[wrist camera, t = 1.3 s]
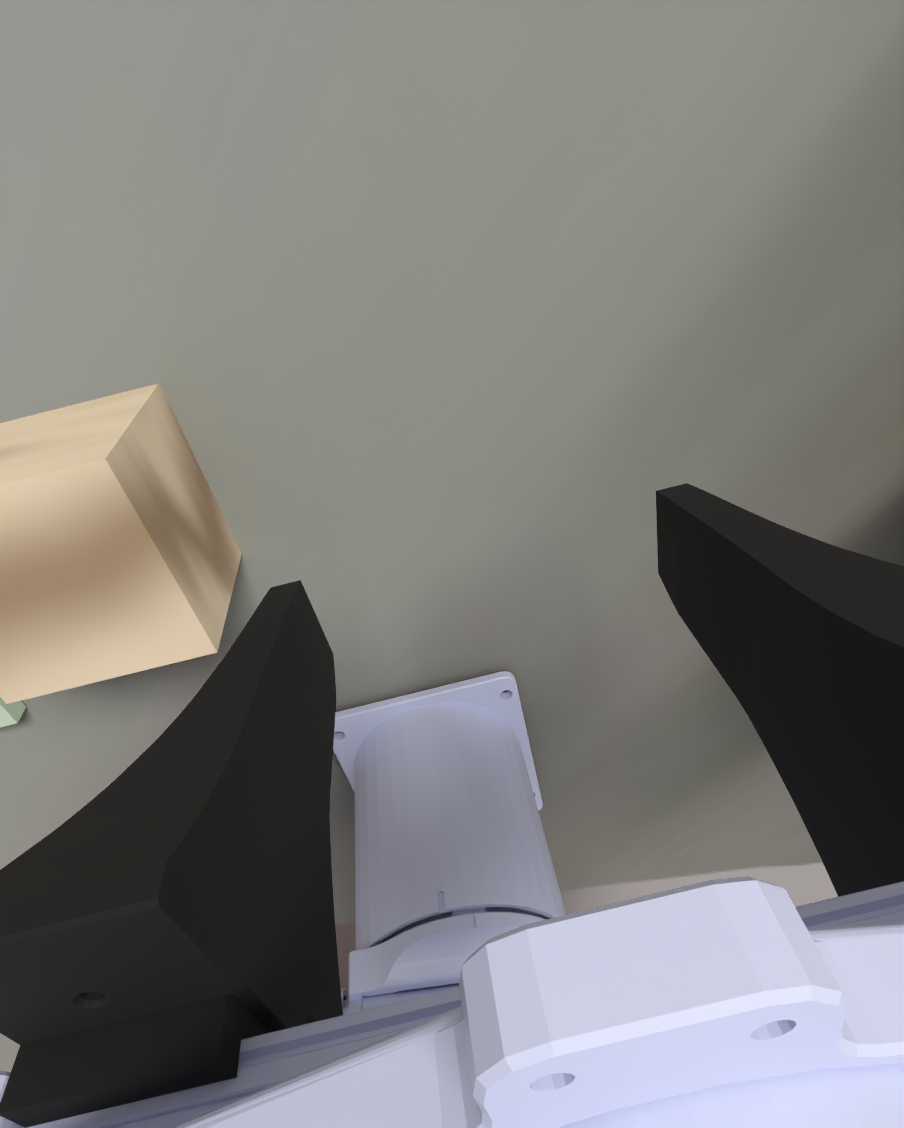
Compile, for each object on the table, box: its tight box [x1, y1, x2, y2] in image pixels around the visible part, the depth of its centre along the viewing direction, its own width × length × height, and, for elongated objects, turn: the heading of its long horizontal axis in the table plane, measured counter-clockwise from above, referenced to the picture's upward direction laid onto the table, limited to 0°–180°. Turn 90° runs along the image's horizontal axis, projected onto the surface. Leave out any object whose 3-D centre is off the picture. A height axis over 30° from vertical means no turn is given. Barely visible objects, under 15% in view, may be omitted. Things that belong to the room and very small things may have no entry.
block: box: [0, 384, 242, 704], centre depth 18 cm, size 6×6×5 cm
